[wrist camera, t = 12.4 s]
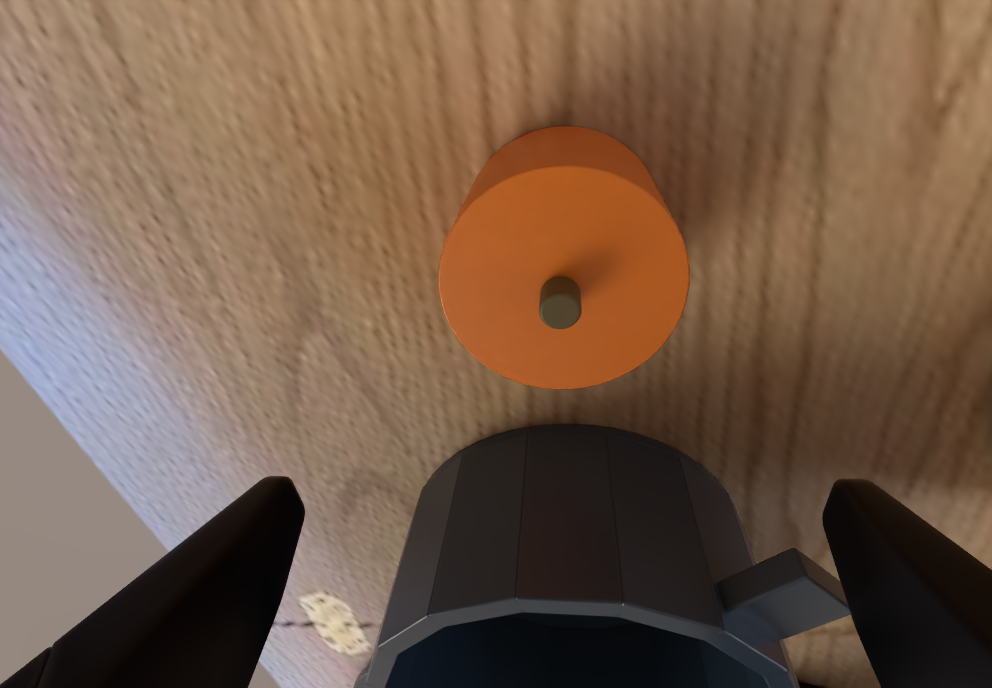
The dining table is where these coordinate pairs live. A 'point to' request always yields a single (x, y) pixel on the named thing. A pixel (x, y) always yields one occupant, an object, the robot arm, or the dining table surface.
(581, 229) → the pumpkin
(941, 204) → the dining table surface
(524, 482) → the pot
